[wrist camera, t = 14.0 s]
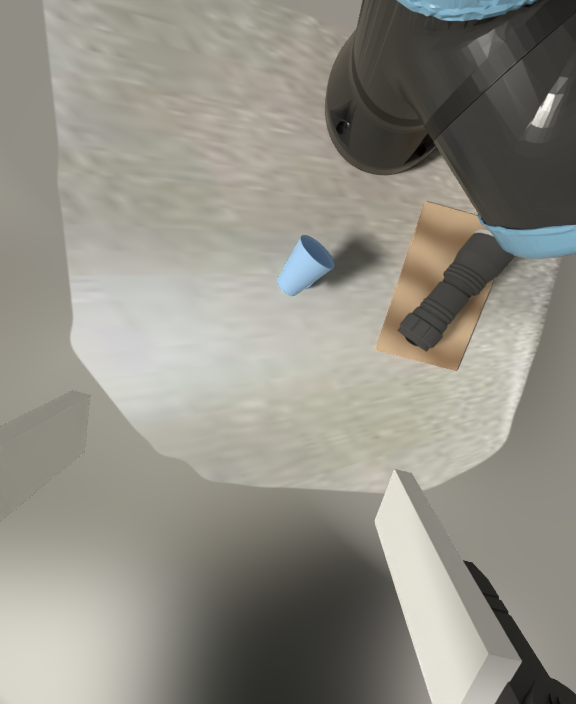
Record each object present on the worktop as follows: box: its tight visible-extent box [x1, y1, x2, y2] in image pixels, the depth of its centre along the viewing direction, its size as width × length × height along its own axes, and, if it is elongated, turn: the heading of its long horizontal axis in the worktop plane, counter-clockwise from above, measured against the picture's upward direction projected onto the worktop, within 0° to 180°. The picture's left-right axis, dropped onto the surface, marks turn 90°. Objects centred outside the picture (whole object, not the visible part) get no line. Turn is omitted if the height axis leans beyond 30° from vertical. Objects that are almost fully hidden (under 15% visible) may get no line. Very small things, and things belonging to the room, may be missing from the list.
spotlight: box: [277, 235, 335, 296], centre depth 37 cm, size 5×10×7 cm
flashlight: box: [397, 229, 515, 352], centre depth 39 cm, size 15×5×5 cm, turn 145°
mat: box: [376, 202, 494, 371], centre depth 42 cm, size 20×12×1 cm, turn 166°
